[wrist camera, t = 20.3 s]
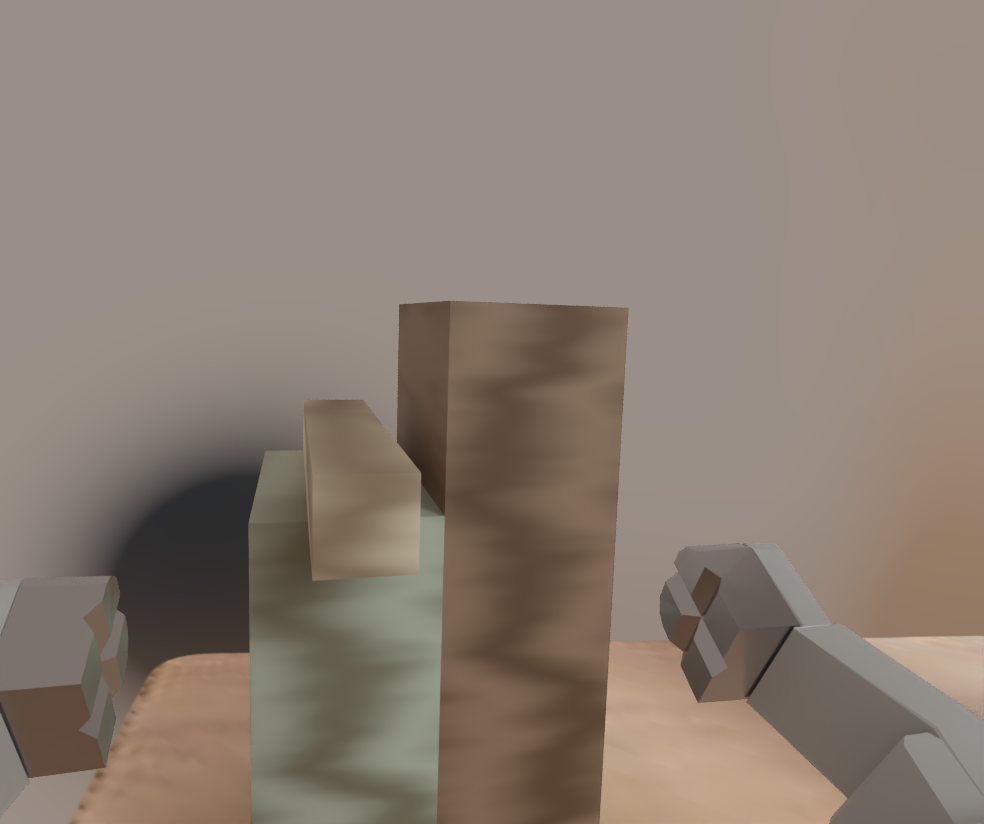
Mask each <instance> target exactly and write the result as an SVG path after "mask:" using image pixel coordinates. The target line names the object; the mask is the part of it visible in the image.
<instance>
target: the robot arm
mask: <svg viewBox="0 0 984 824" xmlns="http://www.w3.org/2000/svg"><path fill="white" fill-rule="evenodd" d="M674 564H675V566H676V568H677V570H678V573H676V574H675V575H674V576H673V577H671V578H670V579H669V580H667V581H666V582H665V585H664V587H663V590H662V593H661V595H660V615H661V619H662V624H663V627H664V629H665V632H666V634H667V636H668V639H669V640H670V641H671V642H672V643H673V644H675V645H676V646H677V647H678V648H680V649H681V650H682V651H683V652H684V653H683V657H682V661H681V667H682V669H683V671H684V674H685V676H686V678H687V680H688V682H689V684H690V687H691V689H692V691H693V693H694V695H695V697H696V699H697V702H698V703H703V702H716V701H729V700H741V699H748V700H747V703H748V704H749V705H750V706H751V707H753V708H754V709H755V710H756V711H757V712H758V713H759V714H760V715H761V716H762V717H763V718H764V719H765V720H766V721H767V722H768V723H769V724H770V725H771V726H772V727H774V728H775V729H776V730H777V731H778V732H779V733H780V734H781V735H782V736H783V737H784V738H785V739H786V740H787V741H788V742H789V743H790V744H791V745H792V746H793V747H795V748H796V749H797V750H798V751H799V752H800V753H801V754H802V755H803V756H804V757H805V758H806V759H807V760H808V761H809V762H810V763H811V764H812V765H813V766H814V767H816V768H817V769H818V770H819V771H820V772H821V773H822V774H823V775H824V776H825V777H826V778H827V779H828V780H829V781H830V782H831V783H832V784H833V785H834V786H835V787H837V788H838V789H839V790H840V791H841V792H842V793H843V794H844V795H845V796H846V797H847V798H848V799H847V800H846V801H845V802H844V804H843V805H842V806H841V807H840V808H839V809H838V810H837V811H836V812H835V814H834V815H833V816H832V817H831V820H830V823H829V824H984V720H983V719H981V718H980V717H978V716H977V715H975V714H974V713H972V712H971V711H969V710H968V709H966V708H965V707H963V706H962V705H961V704H959V703H958V702H956V701H955V700H953V699H952V698H950V697H949V696H947V695H946V694H944V693H943V692H941V691H940V690H938V689H937V688H935V687H934V686H932V685H931V684H929V683H928V682H926V681H925V680H923V679H922V678H920V677H919V676H917V675H916V674H914V673H913V672H911V671H910V670H908V669H907V668H905V667H904V666H902V665H901V664H899V663H898V662H897V661H895V660H894V659H892V658H891V657H889V656H888V655H886V654H885V653H883V652H882V651H880V650H879V649H877V648H876V647H874V646H873V645H871V644H870V643H868V642H867V641H865V640H864V639H862V638H861V637H859V636H858V635H856V634H855V633H853V632H852V631H850V630H849V629H847V628H846V627H844V626H843V625H841V624H831V622H830V621H829V619H828V618H827V616H826V615H825V613H824V612H823V610H822V609H821V607H820V606H819V604H818V603H817V601H816V600H815V598H814V597H813V596H812V594H811V593H810V591H809V590H808V588H807V587H806V585H805V584H804V582H803V581H802V579H801V578H800V577H799V575H798V573H797V572H796V570H795V569H794V568H793V566H792V565H791V563H790V562H789V560H788V559H787V557H786V556H785V554H784V553H783V551H782V550H781V549H780V548H779V547H778V546H777V545H776V544H774V543H772V542H766V543H747V544H739V543H736V544H721V545H705V546H689V547H685V548H684V549H683V550H681V551H680V552H679V554H678V556H677V558H676V560H675V562H674ZM119 596H120V591H119V587H118V583H117V579H116V577H115V576H91V577H51V578H25V579H0V817H1V816H2V815H3V814H4V813H5V811H6V810H7V809H8V808H9V807H10V805H11V804H12V803H13V802H14V800H15V799H16V798H17V797H18V796H19V795H20V793H21V792H22V791H23V790H24V788H25V787H26V786H27V785H28V784H29V779H28V778H33V777H39V776H48V775H55V774H63V773H70V772H77V771H85V770H92V769H100V768H105V767H106V762H107V758H108V753H109V748H110V744H111V739H112V734H113V730H114V725H115V720H116V716H115V712H114V708H113V704H112V700H111V698H112V697H113V696H114V695H115V693H117V692H118V690H119V689H120V688H121V687H122V686H123V681H124V676H125V671H126V666H127V653H128V631H127V624H126V618H125V615H124V614H122V613H121V612H119V611H118V610H117V605H118V601H119Z"/></svg>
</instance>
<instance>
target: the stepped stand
mask: <svg viewBox="0 0 984 824" xmlns="http://www.w3.org/2000/svg"><path fill="white" fill-rule="evenodd" d="M627 324H628V308H617V307H593V306H592V307H591V306H567V305H541V304H517V303H516V304H515V303H491V302H466V301H442V302H428V303H414V304H400V305H399V351H398V355H399V356H398V411H397V443H398V444H399V446H400V447H401V448H402V449H403V451H404V452H405V453H406V454H407V456H408V457H409V458H410V459H411V461H412V462H413V463H414V464H415V466H416V467H417V468H418V469H419V471H420V472H421V507H420V553H419V575H402V576H385V577H368V578H351V579H334V580H318V581H312V568H311V555H310V542H309V528H308V515H307V501H306V488H305V475H304V461H303V451H265V456H264V460H263V464H262V469H261V473H260V478H259V482H258V486H257V490H256V494H255V499H254V503H253V507H252V512H251V516H250V520H249V605H250V606H249V609H250V610H249V615H250V733H251V824H599V820H600V803H601V785H602V767H603V749H604V732H605V714H606V696H607V679H608V661H609V643H610V626H611V608H612V607H611V606H612V590H613V571H614V555H615V536H616V519H617V502H618V501H617V500H618V483H619V466H620V447H621V429H622V413H623V395H624V377H625V360H626V341H627Z"/></svg>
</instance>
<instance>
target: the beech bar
mask: <svg viewBox="0 0 984 824" xmlns="http://www.w3.org/2000/svg"><path fill="white" fill-rule="evenodd" d="M303 461H304V475H305V488H306V501H307V515H308V528H309V542H310V555H311V568H312V581H318V580H334V579H351V578H368V577H385V576H402V575H419V553H420V507H421V472H420V471H419V469H418V468H417V467H416V466H415V464H414V463H413V462H412V461H411V459H410V458H409V457H408V456H407V454H406V453H405V452H404V451H403V449H402V448H401V447H400V446H399V444H398V443H397V442H396V441H395V440H394V438H393V437H392V436H391V434H390V433H389V432H388V431H387V429H386V428H385V427H384V426H383V424H382V423H381V422H380V421H379V419H378V418H377V417H376V416H375V414H374V413H373V412H372V411H371V409H370V408H369V407H368V406H367V404H366V403H365V402H364V401H363V400H303Z"/></svg>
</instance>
